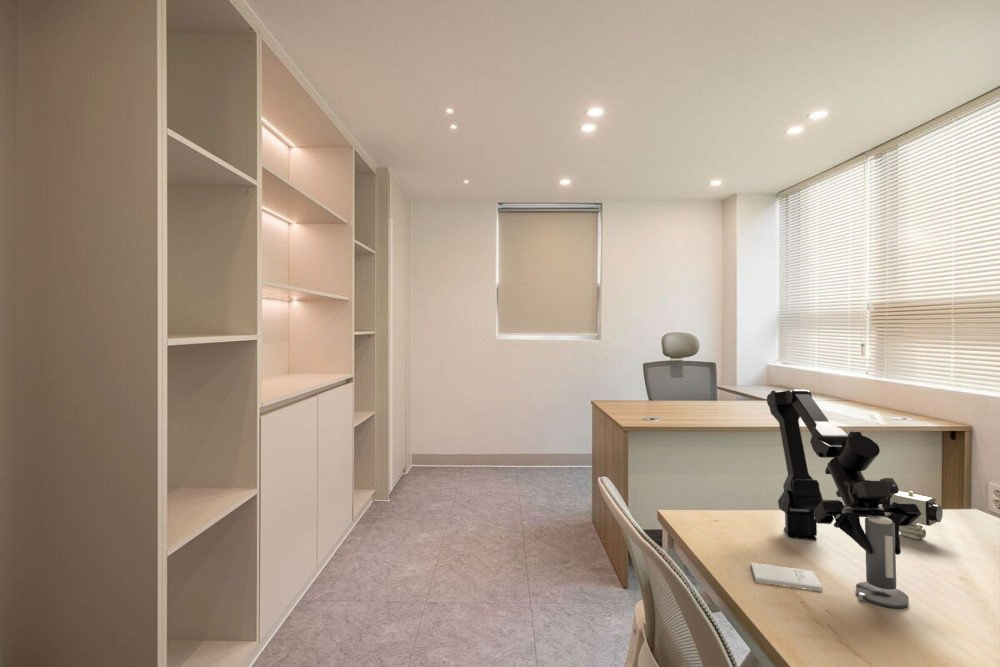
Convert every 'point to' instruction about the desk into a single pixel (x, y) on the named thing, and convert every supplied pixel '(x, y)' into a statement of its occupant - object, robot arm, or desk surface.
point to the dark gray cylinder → (881, 552)
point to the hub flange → (882, 596)
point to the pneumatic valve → (926, 507)
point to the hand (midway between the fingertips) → (884, 553)
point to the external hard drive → (785, 576)
